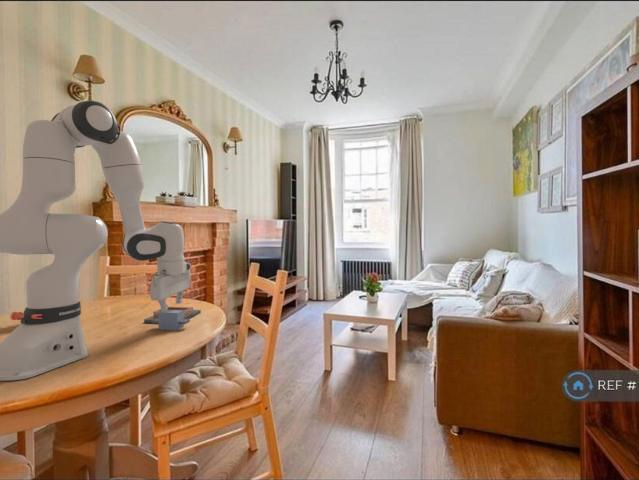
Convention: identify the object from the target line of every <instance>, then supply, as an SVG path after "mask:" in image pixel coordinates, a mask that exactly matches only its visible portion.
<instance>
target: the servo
mask: <svg viewBox="0 0 639 480" xmlns="http://www.w3.org/2000/svg"><path fill="white" fill-rule="evenodd" d="M158 317H159V318H158V319H156V320H153V323H152V324H158V330H165V331H166V330H167V331H179V330H181V329H182V328H184V327H185V325H186V324H188V323H190V321H191V319H184V310H166V311H161V312H158Z"/></svg>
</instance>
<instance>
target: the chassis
mask: <svg viewBox="0 0 639 480" xmlns="http://www.w3.org/2000/svg"><path fill="white" fill-rule="evenodd" d="M168 310H184V319H188V320H191V319H192V318H194V317H196V316H198V315H199V314H201V309H194V307H192V306H191V307H189V306H168ZM158 312H161V308H159V309H156V310H153V312H152V313H153V315H152V316H149V317H147V318H144V319H143V323H145V324H154V323H153V320H156V319H158V318H159V317H158Z"/></svg>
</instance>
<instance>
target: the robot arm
mask: <svg viewBox="0 0 639 480" xmlns="http://www.w3.org/2000/svg"><path fill="white" fill-rule="evenodd" d="M86 146H91V147H92V149H94V150H95V152H96V153H97V154H98V158H100V159H99V160H100V163H101V168H102V172H103V175H104V178H105V181H106V184H107V186H108V188H109V190H110V191H111V193H112V195H113V197H114V199H115V200H116V202H117V206H118V207H119V212H120V215H121V219H122V224H123V227H124V228H123V229H124V233H123V237H122V241H121V243H122V244H121V245H122V249H123V252H125V254H126V255H127V256H129V257H130V258H132V259H133V260H136V261H140V262H145V261H150V260H153V259H156V272H155V273H154V276H152V279H151V282H150V290H149V297H150V299H151V300H152V301H158V304H159V306H160V309H161V311H166V310H168V307H169V305H168V304H167V299H168V298H170V297H172V296H174V295H176V298H175V304H177V305H178V304H181V303H183V296H184V293H185V291H186V290H187V289H189V288H190V286H191V271H190V270H191V269H192V264H191V263H189V262H186V259H185V256H184V251H185V250H184V249H185V235H184V231H183V227H182V226H181V225H180V224H179V223H175V222H171V221H166V220H165V221H163V220H162V221H158V223H156V224H155V225H152V226H151V227H149V228H146V227H145V226H146V225H145V221H144V217H143V213H142V207H141V196H142V192H143V190H144V187H145V180H144V179H145V177H144V168H143V165H142V161H141V158H140V154H139V152H138V150H137V149H138V148H137V146H136V145H135V142H134V139H133V138H132V137H131V136H130V135H129V134H128V133H126V132H125V131H122V130H121V126H120V124H119V123H118V121H117V118H116V116H115V114H113V112H112V111H111V110H110V109H109V107H108V106H107V105H105V104H103V102H99V101H96V100H83V101H80V102H78V103H76V104H72V105H69V106H67V107H66V108H64V109H62V110H61V111H59V112H58V113H56V114H55V115H54V116H53V117H52V119H51V120H48V119H38V120H37V119H36V120H34V121H31V122H30V123H28V125H27V127H26V129H25V134H24V139H23V145H22V180H21V189H20V192H19V194H18V195H17V198H16V199H15V201H14V202H13V203H12V205H10V206H9V208H7V209H6V210H5V211H4V212H2V213H1V214H0V253H3V254H9V255H18V256H20V255H21V256H22V255H54V259H53V261H52V262H51V263H50V264H48V265H46V266H44V267H41V268H39V269H37V270H35V271H34V272H32V273H31V274H30V275H29V276H28V278H27V280H26V284H25V285H26V287H25V288H26V307H25V308H24V311H23V312H22V311H19V312H17V311H13V312H12V313H11V314H9V319H10V320H11V321H20V324H19V325H18V326H17V327H16V328H14V330H13V331H11V332H10V333H9V334H8V335H7V336H6V337H5V338H4V339H3V340H2V341H1V342H0V382H1V381H5V382H6V381H7V382H8V381H19V380H27V379H29V378H30V379H31V378H33V377H36V376H38V375H42V374H44V373H46V372H49V371H52V370H55V369H57V368H59V367H63V366H66V365H68V364H70V363H73V362H76V361H78V360H81V359H85V358H87V357H88V356H89V353H88V347H87V346H86V343H85V339H84V333H83V327H82V322H81V318H80V315H81V314H82V306H81V301H79V287H80V285H79V284H80V283H79V282H80V276H81V272H82V269H83V267H84V265H85V263H86V262H87V261H88V259H89V258H90V257H92V256H93V254H95V253H96V252H97V251H99V250H101V248H103V247H104V246H105V244H106V242H107V240H108V237H109V232H108V231H109V230H108V228H107V226H106V223H105V222H104V220H102V219H101V218H100V217H99V216H94V215H90V214H89V215H88V214H83V213H50V208H51V207H52V206H53V205H54V204H55V203H58V202H61V201H64V200H66V199H68V198H70V197H71V196H72V195H73V194H74V193H75V190H76V160H75V158H76V157H75V153H76V152H75V151H76V149H77V148H78V149H79V148H84V147H86Z"/></svg>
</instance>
